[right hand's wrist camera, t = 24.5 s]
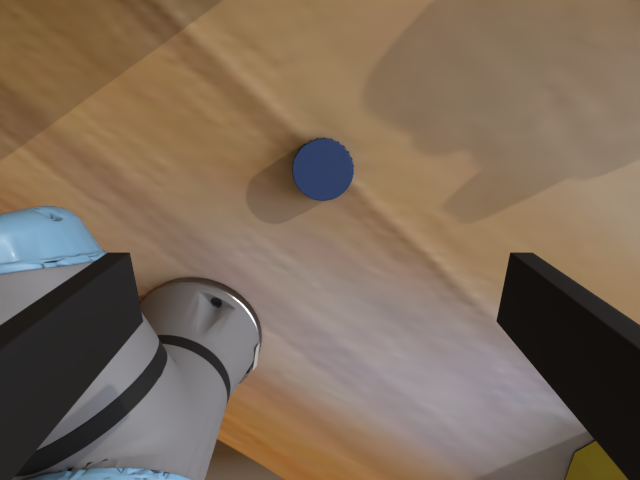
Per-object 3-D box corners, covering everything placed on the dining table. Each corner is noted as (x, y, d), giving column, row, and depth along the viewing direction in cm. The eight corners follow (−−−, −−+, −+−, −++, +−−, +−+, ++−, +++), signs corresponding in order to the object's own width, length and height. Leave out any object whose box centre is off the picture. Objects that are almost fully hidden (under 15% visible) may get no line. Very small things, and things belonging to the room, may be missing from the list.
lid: (282, 152, 36) (281, 155, 35) (338, 126, 35) (339, 127, 34) (308, 206, 38) (307, 210, 37) (361, 183, 37) (363, 186, 36)
